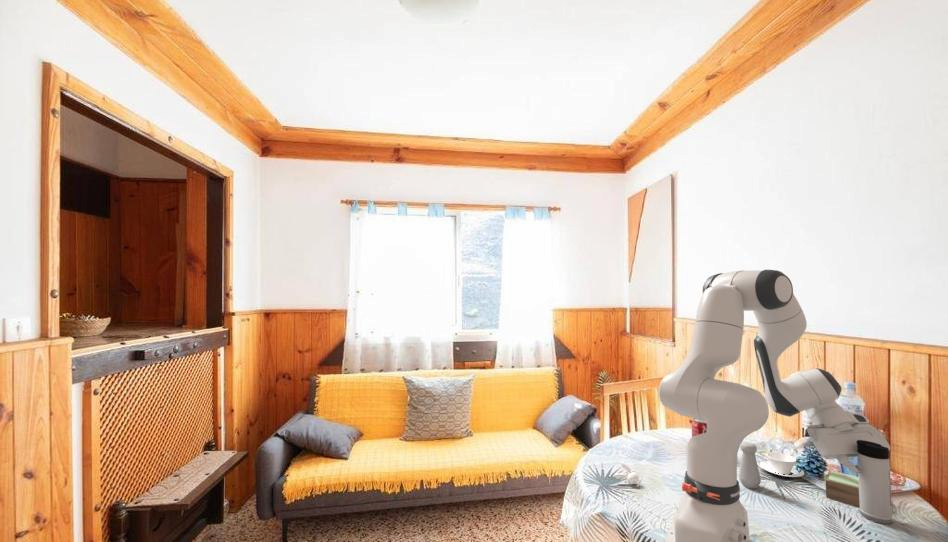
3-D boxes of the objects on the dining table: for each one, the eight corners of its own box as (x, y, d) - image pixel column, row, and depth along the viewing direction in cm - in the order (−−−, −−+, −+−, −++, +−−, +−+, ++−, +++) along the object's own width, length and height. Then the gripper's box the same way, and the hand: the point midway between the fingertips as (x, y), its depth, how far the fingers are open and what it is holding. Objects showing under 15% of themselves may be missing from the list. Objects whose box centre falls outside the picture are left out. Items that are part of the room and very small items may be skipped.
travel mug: (852, 510, 114) (849, 437, 115) (878, 512, 113) (875, 438, 114) (871, 523, 108) (868, 446, 108) (899, 525, 107) (895, 447, 108)
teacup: (763, 461, 146) (762, 446, 146) (806, 472, 137) (805, 456, 138) (756, 473, 137) (755, 457, 137) (802, 484, 129) (801, 467, 129)
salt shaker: (764, 491, 125) (763, 447, 126) (743, 489, 126) (742, 446, 127) (755, 482, 131) (754, 440, 131) (735, 480, 132) (734, 439, 132)
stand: (868, 509, 115) (867, 489, 115) (826, 497, 121) (825, 479, 121) (870, 497, 121) (869, 479, 121) (829, 486, 127) (829, 469, 127)
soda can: (716, 452, 154) (715, 420, 155) (710, 457, 150) (709, 424, 150) (696, 447, 160) (695, 415, 160) (689, 452, 155) (688, 420, 155)
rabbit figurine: (637, 490, 126) (613, 472, 131) (634, 495, 129) (611, 477, 133) (645, 475, 129) (622, 458, 134) (642, 480, 132) (619, 463, 136)
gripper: (810, 420, 117) (848, 470, 107) (870, 416, 120) (912, 464, 110) (796, 430, 122) (831, 479, 112) (855, 426, 125) (894, 473, 115)
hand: (872, 471), depth 111 cm, fingers open, 8 cm apart
